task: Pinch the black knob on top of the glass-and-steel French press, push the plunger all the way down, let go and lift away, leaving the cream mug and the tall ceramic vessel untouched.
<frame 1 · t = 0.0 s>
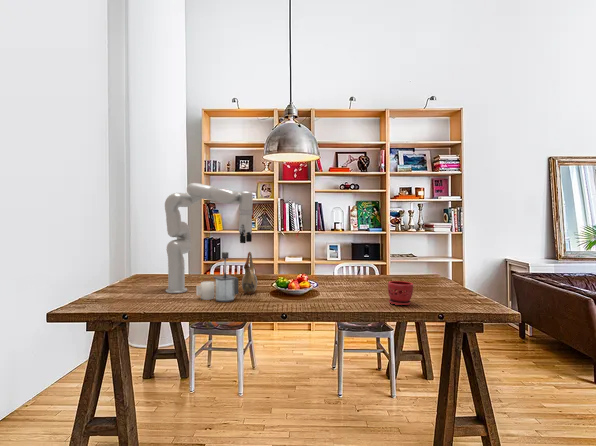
hand: (245, 242, 233), 31 cm above the table, tool pointing down, fingers open, 9 cm apart
press carafe: (225, 300, 222), on the table
mug: (207, 298, 227), on the table
ceramic vessel: (249, 293, 240), on the table
plant pot: (400, 304, 215), on the table
plunger: (225, 267, 221), point 18 cm above the table, slide at 0.0 cm
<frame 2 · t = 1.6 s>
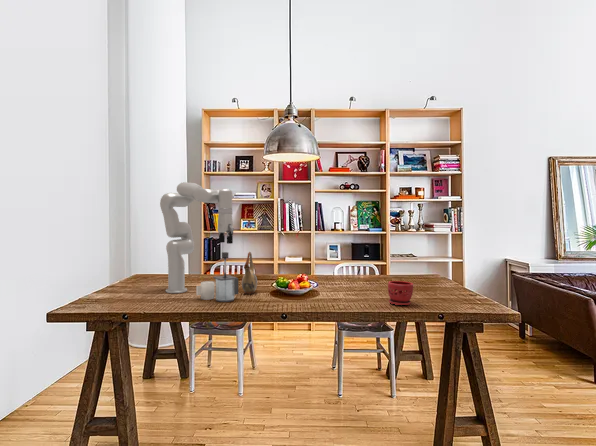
hand: (225, 242, 221), 32 cm above the table, tool pointing down, fingers open, 9 cm apart
nothing on the table moved.
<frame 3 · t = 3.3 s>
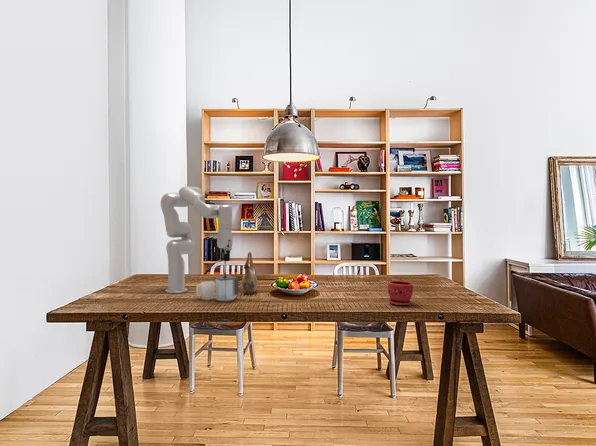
hand: (225, 260, 221), 22 cm above the table, tool pointing down, fingers closed on plunger, 3 cm apart
plunger: (225, 267, 221), point 18 cm above the table, slide at 0.0 cm, touching gripper
everything else where it was.
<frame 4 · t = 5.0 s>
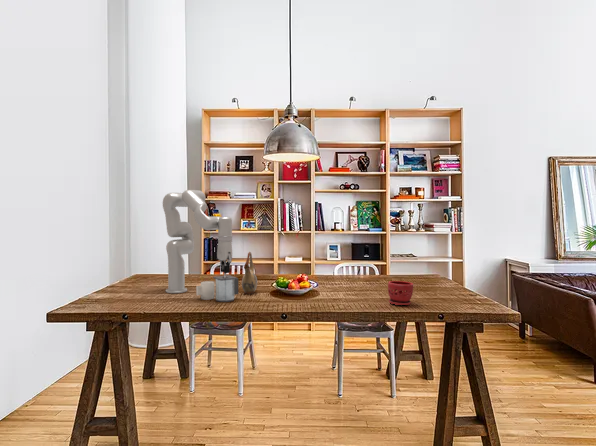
hand: (225, 272, 221), 16 cm above the table, tool pointing down, fingers closed on plunger, 3 cm apart
plunger: (225, 279, 222), point 12 cm above the table, slide at 6.7 cm, touching gripper
everything else where it was.
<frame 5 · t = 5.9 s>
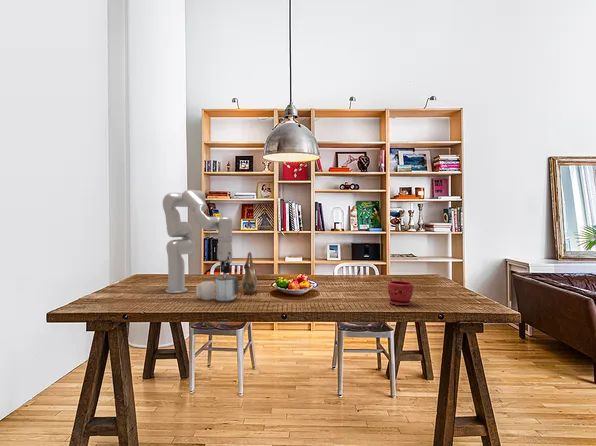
hand: (225, 272, 221), 15 cm above the table, tool pointing down, fingers closed on plunger, 3 cm apart
plunger: (225, 279, 222), point 11 cm above the table, slide at 6.8 cm, touching gripper
everything else where it was.
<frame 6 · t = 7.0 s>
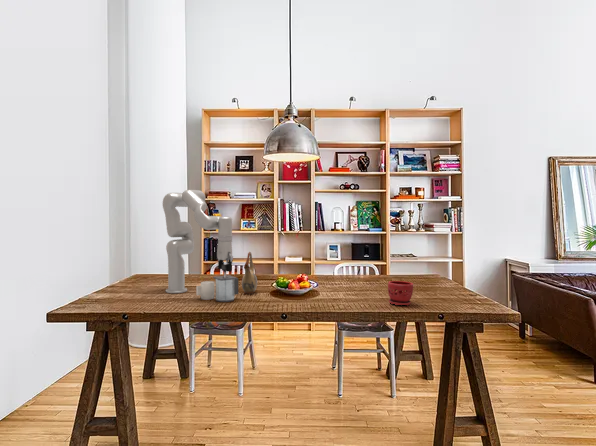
hand: (224, 270, 222), 17 cm above the table, tool pointing down, fingers open, 9 cm apart
plunger: (225, 279, 222), point 11 cm above the table, slide at 6.8 cm
everything else where it was.
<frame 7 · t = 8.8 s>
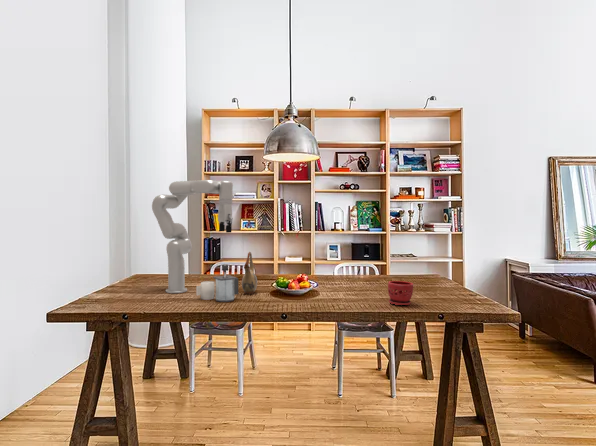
hand: (225, 231, 233), 37 cm above the table, tool pointing down, fingers open, 9 cm apart
nothing on the table moved.
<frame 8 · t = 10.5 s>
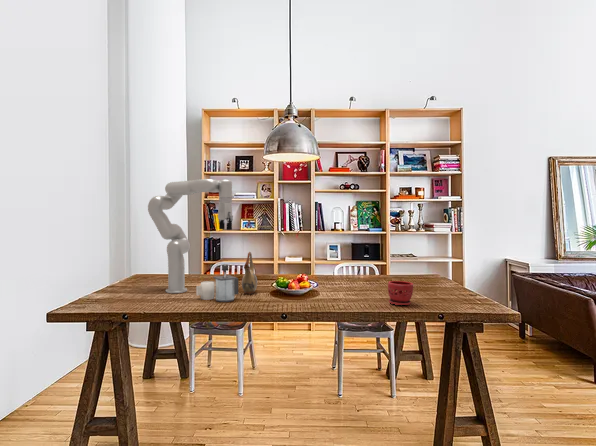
hand: (225, 229, 238), 38 cm above the table, tool pointing down, fingers open, 9 cm apart
nothing on the table moved.
at the end: plunger slide at 6.8 cm; the gripper is holding nothing; mug moved 0.1 cm from its start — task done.
